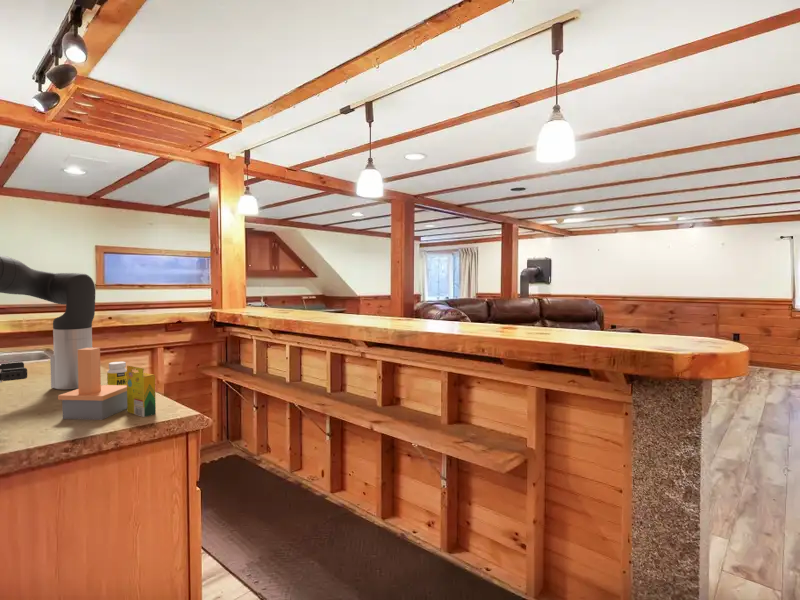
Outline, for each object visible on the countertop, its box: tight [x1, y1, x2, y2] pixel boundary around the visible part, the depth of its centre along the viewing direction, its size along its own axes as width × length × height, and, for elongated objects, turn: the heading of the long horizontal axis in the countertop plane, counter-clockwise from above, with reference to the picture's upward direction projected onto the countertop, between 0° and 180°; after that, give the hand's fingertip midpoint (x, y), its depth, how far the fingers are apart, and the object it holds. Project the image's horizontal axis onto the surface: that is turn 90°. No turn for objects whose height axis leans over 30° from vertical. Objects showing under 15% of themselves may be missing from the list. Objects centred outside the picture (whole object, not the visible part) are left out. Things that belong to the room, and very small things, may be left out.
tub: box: [61, 391, 127, 421], centre depth 105 cm, size 9×9×5 cm
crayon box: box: [126, 365, 157, 418], centre depth 106 cm, size 7×3×12 cm, turn 58°
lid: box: [57, 347, 127, 401], centre depth 105 cm, size 10×10×11 cm
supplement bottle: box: [106, 361, 127, 385], centre depth 126 cm, size 5×5×8 cm
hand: (25, 369), depth 95 cm, fingers open, 8 cm apart
